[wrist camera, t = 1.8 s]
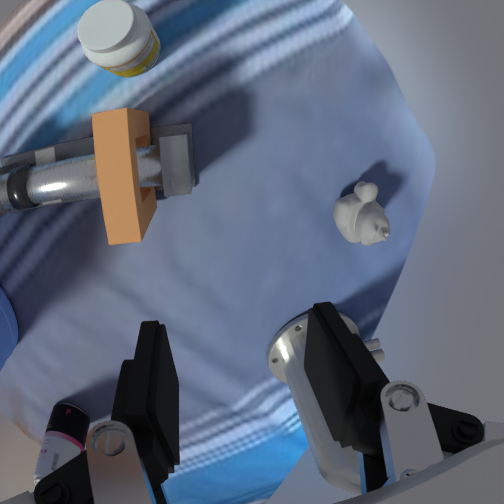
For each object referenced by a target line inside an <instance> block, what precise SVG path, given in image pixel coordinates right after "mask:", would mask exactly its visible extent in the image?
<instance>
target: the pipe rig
mask: <svg viewBox="0 0 504 504" xmlns="http://www.w3.org/2000/svg"><path fill="white" fill-rule="evenodd" d="M150 140H151V146H143V147H136V155H137V165H138V175H139V184H140V188H141V187H150V186H155V191H158V190H164V197H166V196H175V195H186V194H191V191H192V187H196V183H195V169H194V154H193V137H192V123H189V124H179V125H169V126H160V127H152V128H150ZM1 162H2V167H0V217H1V216H3V215H4V214H6V213H8V212H9V211H10V213H13V212H18V211H23V210H28V209H33V208H39V207H45V206H50V205H56V204H62V203H68V202H74V201H81V200H87V199H94V198H101V196H100V190H99V183H98V175H97V167H96V158H95V149H94V138H93V137H89V138H84V139H79V140H74V141H69V142H65V143H60V144H56V145H52V146H47V147H43V148H39V149H35V150H32V151H28V152H24V153H21V154H17V155H14V156H10V157H7V158H3V159H1Z"/></svg>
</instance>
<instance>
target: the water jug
mask: <svg viewBox="0 0 504 504" xmlns="http://www.w3.org/2000/svg"><path fill="white" fill-rule="evenodd" d="M17 340H18V325H17V320H16V316H15V313H14V311H13V308H12V306H11V304H10V302H9V300H8V298H7V296H6V294H5V293H4V291H3V290H2V288H1V287H0V371H1V369H2V368H3V366H4V364H5V362H6V360H7V359H8V358H9V357H10V355H11V354H12V352H13V350H14V349H15V347H16V344H17Z"/></svg>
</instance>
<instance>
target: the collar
mask: <svg viewBox="0 0 504 504" xmlns="http://www.w3.org/2000/svg"><path fill="white" fill-rule="evenodd" d="M92 125H93V138H94V149H95V158H96V167H97V175H98V183H99V190H100V196H101V203H102V209H103V215H104V221H105V226H106V232H107V237H108V242H109V245H113V244H123V243H133V242H142V239H143V237H144V235H145V232H146V230H147V228H148V226H149V223H150V221H151V219H152V217H153V215H154V212H155V210H156V208H157V203H156V194H155V186H150V187H141V188H140V184H139V175H138V165H137V155H136V147H143V146H151V140H150V125H149V112H148V111H142V110H137V109H131V108H123V109H117V110H111V111H105V112H100V113H95V114H92Z"/></svg>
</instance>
